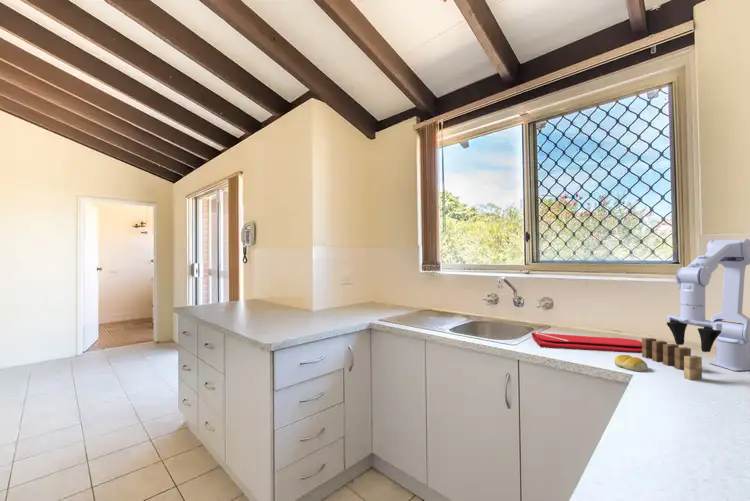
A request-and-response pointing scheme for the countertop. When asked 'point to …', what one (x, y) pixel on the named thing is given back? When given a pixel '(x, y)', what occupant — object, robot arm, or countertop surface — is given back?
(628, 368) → the bread roll
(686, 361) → the domino
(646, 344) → the domino
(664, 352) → the domino
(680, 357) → the domino
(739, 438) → the countertop surface
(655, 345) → the domino
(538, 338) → the dish drying mat
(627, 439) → the countertop surface
